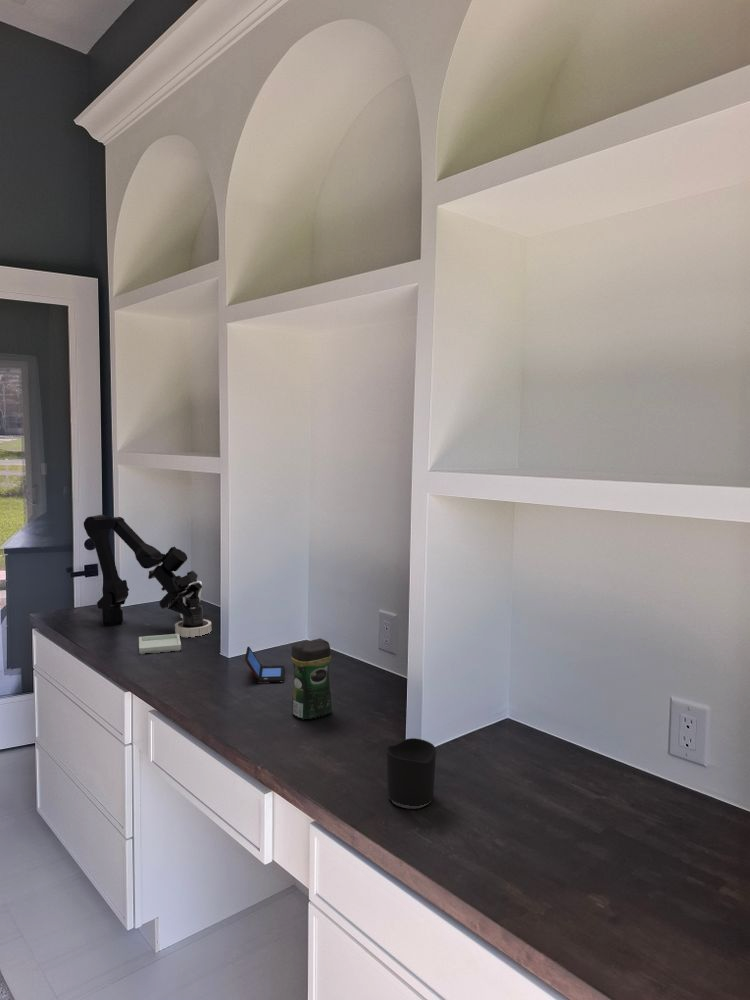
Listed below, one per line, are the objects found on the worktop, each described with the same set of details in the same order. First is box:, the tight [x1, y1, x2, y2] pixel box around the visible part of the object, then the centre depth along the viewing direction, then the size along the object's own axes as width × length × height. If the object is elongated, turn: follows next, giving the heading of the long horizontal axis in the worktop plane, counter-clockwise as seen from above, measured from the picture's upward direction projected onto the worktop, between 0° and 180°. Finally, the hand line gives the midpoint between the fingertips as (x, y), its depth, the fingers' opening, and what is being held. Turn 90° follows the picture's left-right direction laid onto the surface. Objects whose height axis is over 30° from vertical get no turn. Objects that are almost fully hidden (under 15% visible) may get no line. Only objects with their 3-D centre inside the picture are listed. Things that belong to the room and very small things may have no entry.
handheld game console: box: [244, 646, 285, 683], centre depth 202 cm, size 12×11×7 cm
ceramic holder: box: [174, 618, 212, 638], centre depth 244 cm, size 12×12×3 cm
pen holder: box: [386, 737, 437, 806], centre depth 135 cm, size 9×9×10 cm
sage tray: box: [138, 633, 182, 655], centre depth 228 cm, size 13×13×2 cm
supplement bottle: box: [182, 597, 204, 628], centre depth 243 cm, size 7×7×12 cm
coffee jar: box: [290, 637, 333, 720], centre depth 175 cm, size 10×8×19 cm
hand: (196, 613), depth 243 cm, fingers closed on supplement bottle, 7 cm apart
